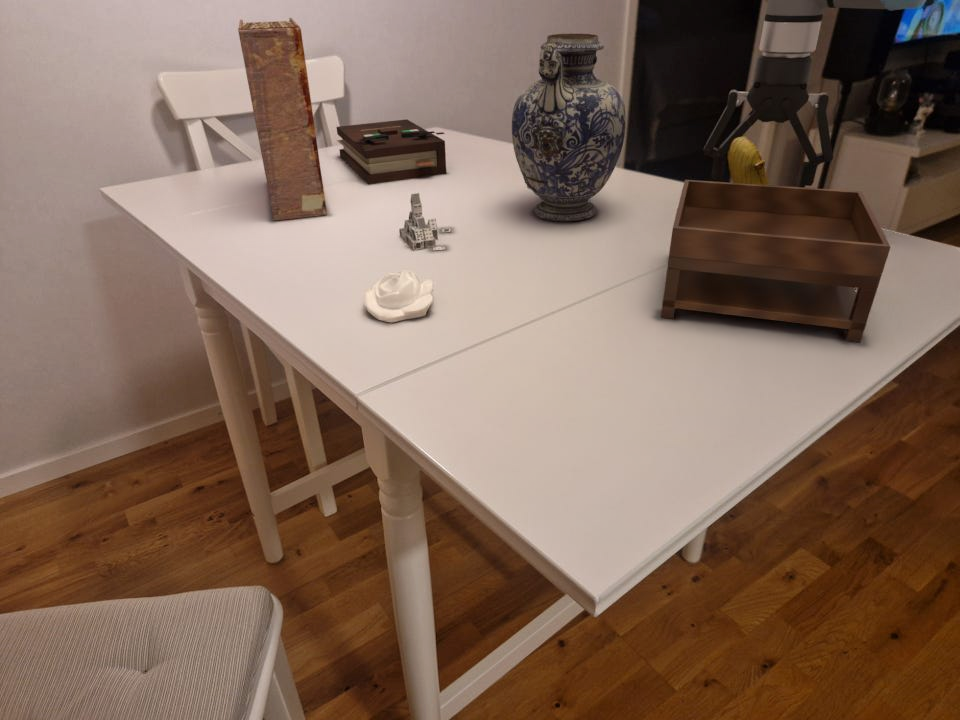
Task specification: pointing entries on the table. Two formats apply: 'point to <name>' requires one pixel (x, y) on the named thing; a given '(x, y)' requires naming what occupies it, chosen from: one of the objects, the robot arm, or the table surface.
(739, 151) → the shrine
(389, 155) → the decorative book
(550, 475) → the table surface
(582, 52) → the decorative vase
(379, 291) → the rose
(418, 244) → the house of cards
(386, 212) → the table surface
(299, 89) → the book
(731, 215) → the brown wooden open box
